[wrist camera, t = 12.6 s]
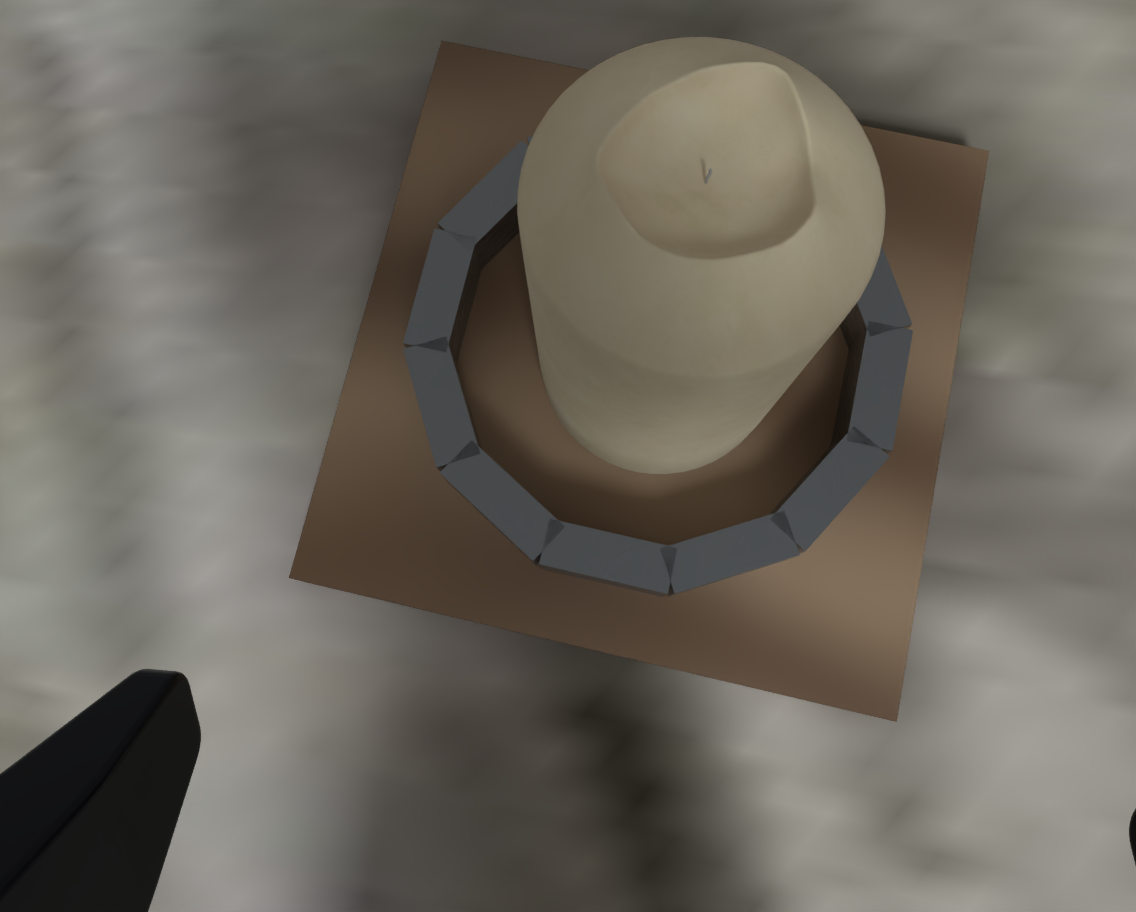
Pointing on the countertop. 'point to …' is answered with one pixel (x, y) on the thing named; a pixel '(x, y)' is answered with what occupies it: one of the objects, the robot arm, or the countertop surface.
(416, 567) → the dock
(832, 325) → the candle
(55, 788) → the robot arm
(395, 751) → the countertop surface
